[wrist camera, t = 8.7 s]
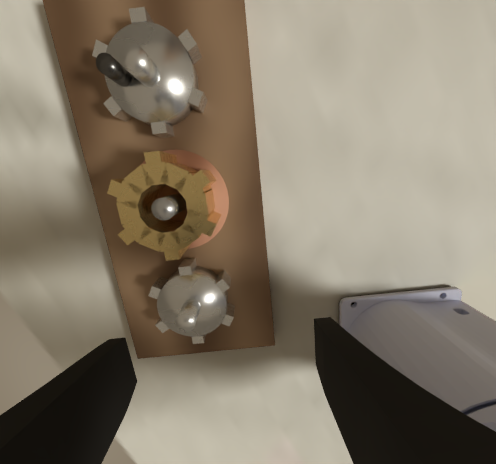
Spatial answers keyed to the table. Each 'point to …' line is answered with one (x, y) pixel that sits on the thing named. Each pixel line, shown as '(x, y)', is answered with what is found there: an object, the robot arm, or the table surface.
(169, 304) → the mounted gears
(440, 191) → the table surface
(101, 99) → the gear board
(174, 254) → the wooden gear
